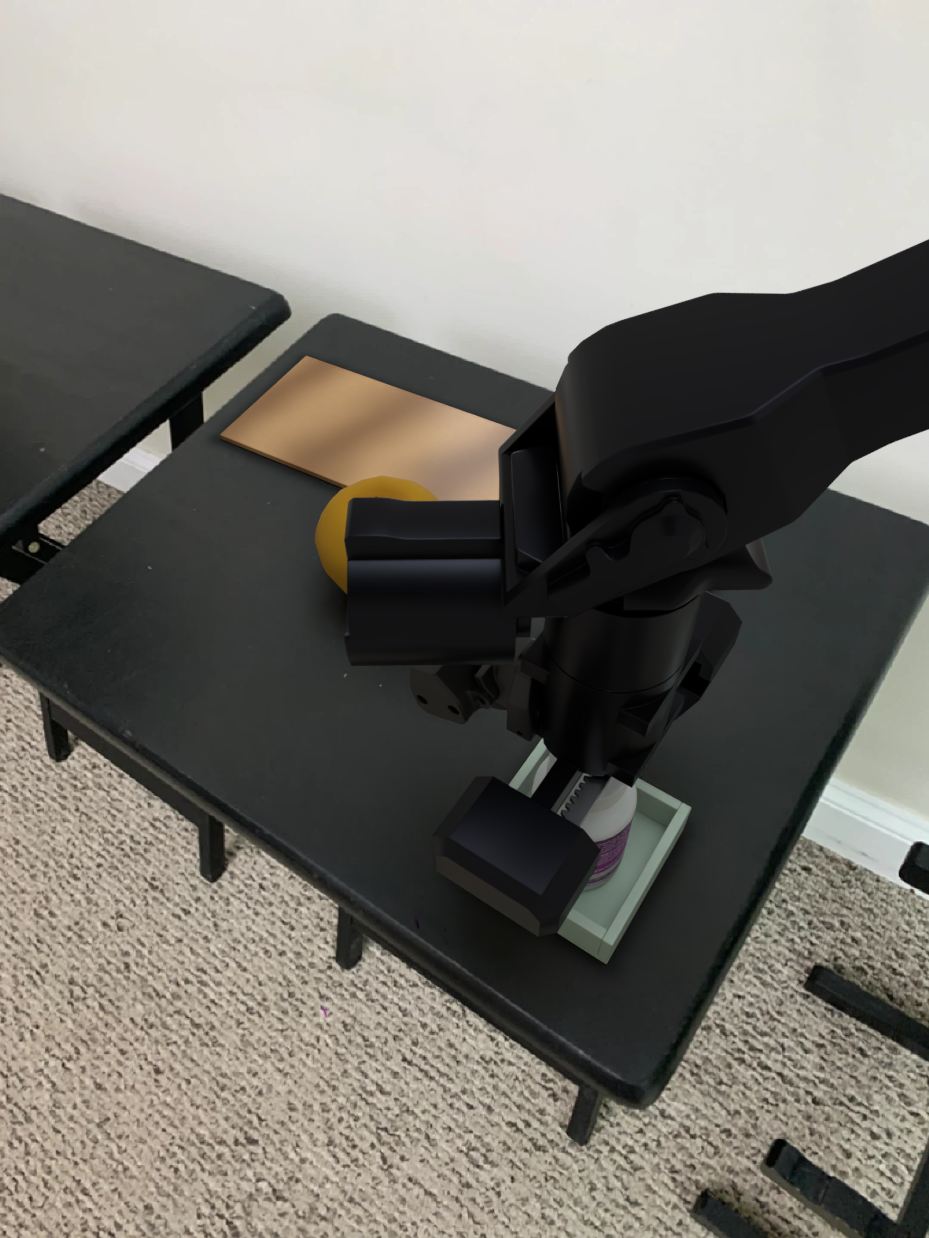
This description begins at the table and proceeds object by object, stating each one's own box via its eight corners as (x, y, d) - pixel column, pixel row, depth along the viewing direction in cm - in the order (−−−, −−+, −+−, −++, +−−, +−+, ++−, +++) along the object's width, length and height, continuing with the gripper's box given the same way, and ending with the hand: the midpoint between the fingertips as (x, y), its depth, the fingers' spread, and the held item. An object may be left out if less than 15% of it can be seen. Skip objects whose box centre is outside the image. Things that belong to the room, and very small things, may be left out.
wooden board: (744, 515, 69) (745, 510, 69) (685, 626, 63) (686, 622, 62) (306, 360, 82) (306, 355, 81) (220, 439, 75) (219, 434, 75)
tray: (683, 830, 53) (692, 807, 51) (606, 964, 49) (612, 945, 46) (546, 753, 57) (548, 728, 54) (462, 872, 52) (460, 850, 50)
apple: (433, 530, 68) (428, 436, 61) (472, 619, 63) (471, 528, 56) (314, 559, 67) (295, 466, 60) (344, 654, 62) (326, 564, 54)
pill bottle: (638, 834, 53) (664, 748, 45) (595, 911, 50) (615, 833, 42) (555, 789, 55) (567, 699, 47) (509, 861, 52) (514, 778, 44)
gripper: (559, 431, 44) (542, 629, 57) (307, 704, 35) (353, 872, 47) (780, 522, 40) (711, 715, 53) (564, 859, 31) (541, 998, 43)
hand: (582, 812), depth 49 cm, fingers open, 9 cm apart
